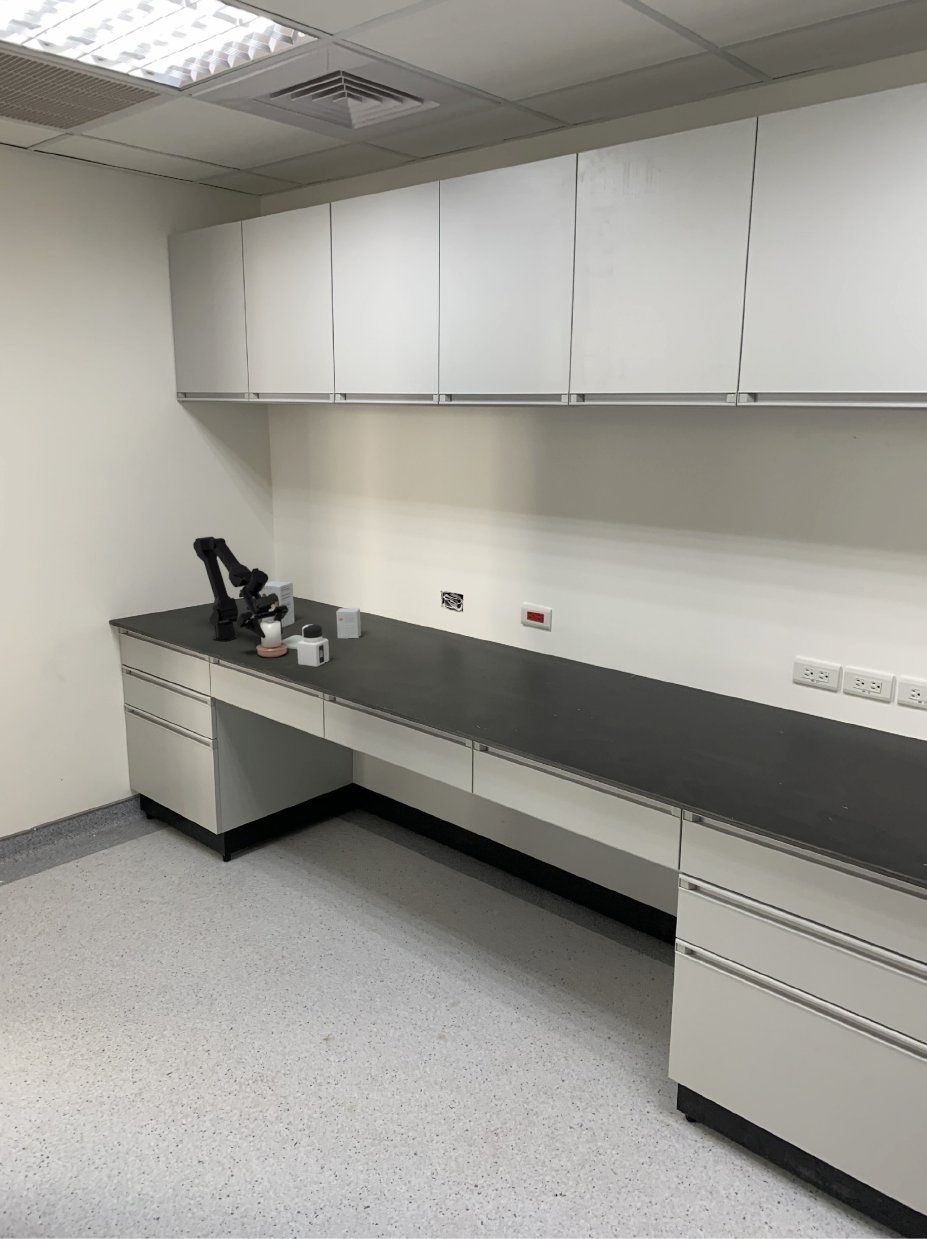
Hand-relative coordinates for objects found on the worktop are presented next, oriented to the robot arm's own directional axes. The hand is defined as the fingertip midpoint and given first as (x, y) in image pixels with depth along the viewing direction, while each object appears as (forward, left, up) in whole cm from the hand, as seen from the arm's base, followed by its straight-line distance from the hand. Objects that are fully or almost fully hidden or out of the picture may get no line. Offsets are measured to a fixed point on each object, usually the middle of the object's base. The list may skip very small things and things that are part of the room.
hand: (273, 635), depth 307 cm
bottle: (-1, +1, -4) cm, 4 cm away
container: (+18, -2, -7) cm, 19 cm away
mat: (0, +17, -7) cm, 18 cm away
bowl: (-1, +1, -7) cm, 7 cm away
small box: (+12, +32, -7) cm, 34 cm away
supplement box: (-24, +38, -7) cm, 45 cm away
